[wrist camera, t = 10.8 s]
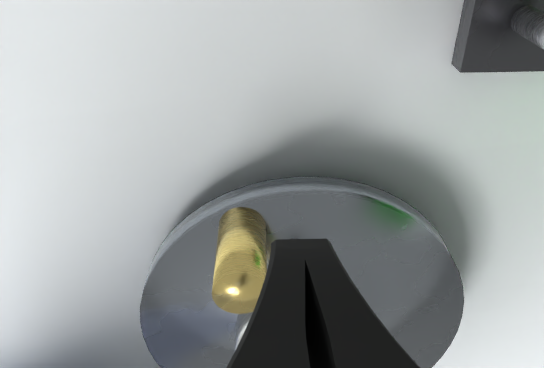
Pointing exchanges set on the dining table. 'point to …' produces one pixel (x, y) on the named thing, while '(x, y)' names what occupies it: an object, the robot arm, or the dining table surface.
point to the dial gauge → (500, 36)
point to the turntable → (298, 225)
